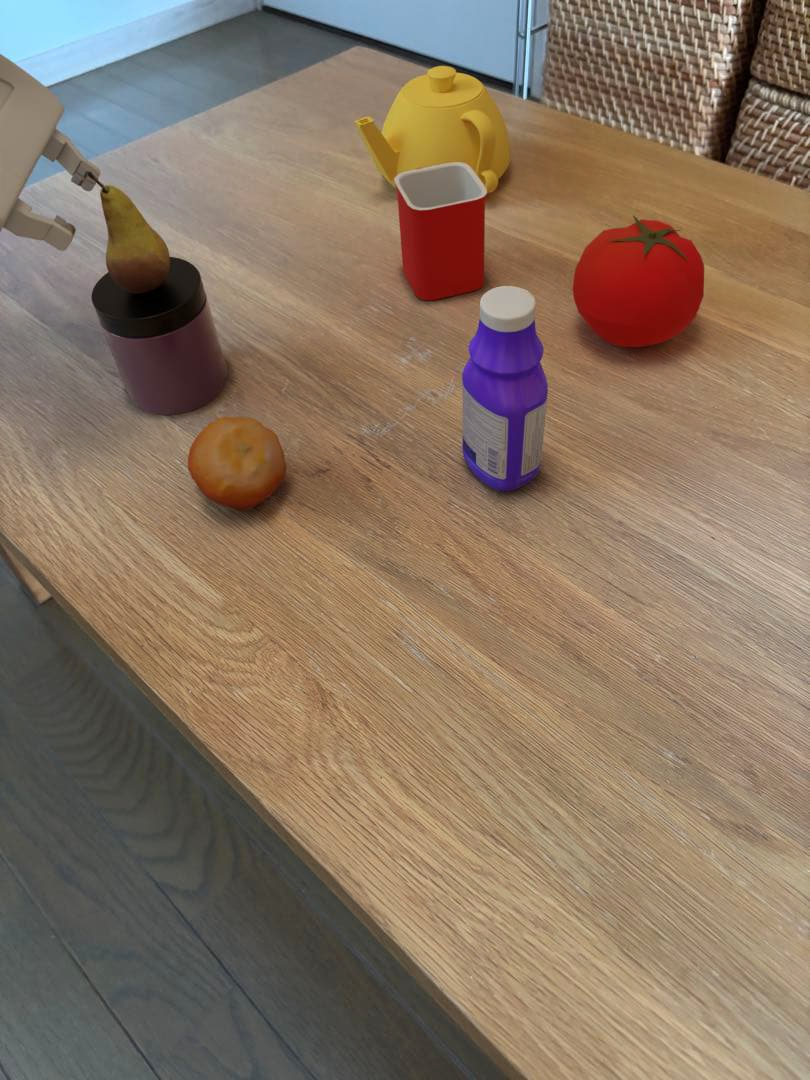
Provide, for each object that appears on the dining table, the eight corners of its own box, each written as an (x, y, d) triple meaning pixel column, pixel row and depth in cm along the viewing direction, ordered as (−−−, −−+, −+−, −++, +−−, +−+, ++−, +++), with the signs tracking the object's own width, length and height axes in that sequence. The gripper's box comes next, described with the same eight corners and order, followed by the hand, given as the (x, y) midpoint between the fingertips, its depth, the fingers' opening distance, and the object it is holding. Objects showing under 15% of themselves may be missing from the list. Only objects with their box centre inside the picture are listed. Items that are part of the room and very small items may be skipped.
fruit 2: (223, 428, 79) (241, 386, 73) (286, 487, 80) (310, 450, 73) (160, 482, 75) (172, 443, 69) (227, 544, 76) (246, 511, 69)
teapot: (461, 133, 117) (460, 30, 108) (547, 188, 107) (554, 80, 97) (333, 178, 111) (319, 74, 102) (410, 242, 101) (403, 132, 91)
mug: (490, 289, 94) (492, 196, 85) (418, 305, 92) (412, 213, 84) (455, 234, 101) (454, 144, 93) (388, 248, 100) (380, 158, 92)
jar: (119, 418, 84) (82, 328, 76) (137, 354, 90) (104, 265, 82) (222, 411, 83) (195, 321, 75) (232, 347, 90) (208, 257, 82)
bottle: (553, 477, 75) (570, 307, 62) (501, 507, 73) (507, 338, 60) (501, 432, 79) (506, 264, 66) (451, 459, 77) (446, 291, 64)
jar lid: (86, 340, 77) (79, 322, 75) (109, 277, 83) (102, 259, 82) (197, 333, 76) (192, 315, 75) (211, 270, 83) (207, 252, 81)
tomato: (693, 373, 83) (717, 276, 75) (563, 363, 85) (573, 268, 77) (692, 293, 91) (714, 198, 83) (574, 285, 93) (583, 192, 85)
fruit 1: (189, 286, 78) (151, 155, 69) (133, 312, 76) (85, 181, 67) (160, 261, 81) (120, 132, 72) (104, 286, 79) (55, 157, 69)
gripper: (-128, 129, 57) (72, 253, 64) (-32, 13, 70) (125, 126, 77) (-156, 197, 60) (36, 307, 67) (-60, 75, 73) (92, 178, 80)
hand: (84, 210), depth 72 cm, fingers open, 8 cm apart
